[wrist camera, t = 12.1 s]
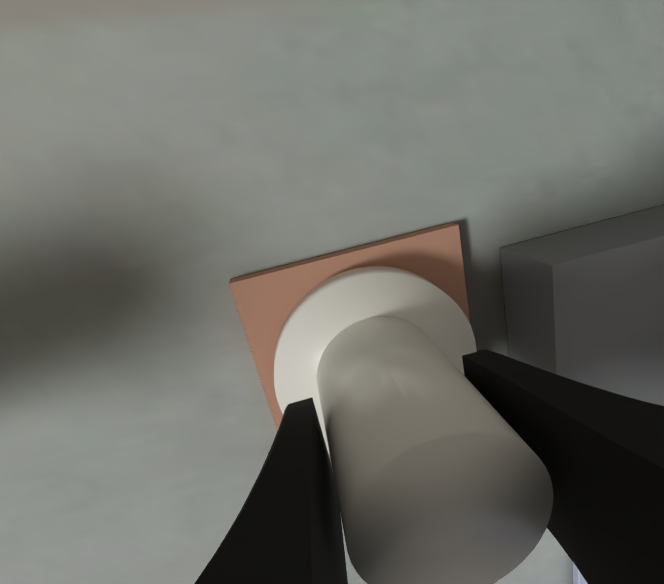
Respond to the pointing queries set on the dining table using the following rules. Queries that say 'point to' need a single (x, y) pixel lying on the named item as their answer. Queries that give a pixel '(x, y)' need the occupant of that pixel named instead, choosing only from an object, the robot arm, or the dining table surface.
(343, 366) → the plug
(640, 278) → the power strip
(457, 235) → the mat
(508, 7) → the dining table surface
